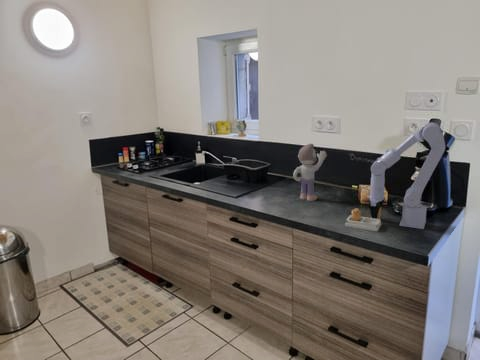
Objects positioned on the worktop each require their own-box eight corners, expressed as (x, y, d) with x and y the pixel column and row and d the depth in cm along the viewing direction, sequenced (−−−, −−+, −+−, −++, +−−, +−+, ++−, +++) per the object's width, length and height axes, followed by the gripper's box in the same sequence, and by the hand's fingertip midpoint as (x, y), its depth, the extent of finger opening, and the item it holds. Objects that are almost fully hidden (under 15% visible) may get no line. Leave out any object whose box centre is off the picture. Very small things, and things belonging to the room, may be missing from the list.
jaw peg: (380, 218, 166) (381, 203, 164) (379, 221, 162) (380, 206, 161) (368, 217, 168) (369, 202, 167) (366, 220, 165) (367, 204, 163)
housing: (381, 224, 160) (382, 209, 158) (377, 231, 153) (378, 215, 151) (349, 219, 166) (350, 204, 164) (344, 226, 159) (345, 210, 157)
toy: (330, 200, 194) (331, 144, 186) (321, 204, 188) (322, 147, 180) (301, 194, 206) (301, 141, 198) (292, 198, 200) (291, 144, 192)
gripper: (371, 182, 169) (369, 210, 173) (364, 191, 157) (362, 220, 161) (387, 184, 166) (385, 212, 169) (381, 192, 154) (379, 222, 157)
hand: (375, 216), depth 165 cm, fingers open, 6 cm apart
